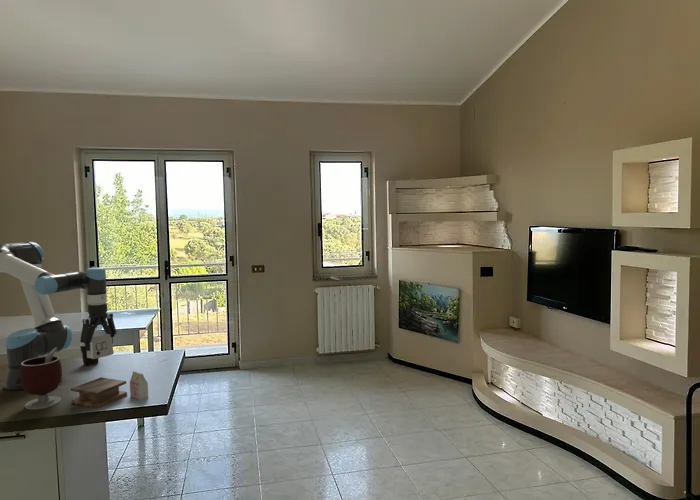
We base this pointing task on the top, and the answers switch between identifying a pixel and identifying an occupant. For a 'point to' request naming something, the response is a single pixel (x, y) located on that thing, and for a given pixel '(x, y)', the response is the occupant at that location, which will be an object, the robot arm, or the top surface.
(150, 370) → the top surface
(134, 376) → the milk carton
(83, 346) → the coffee mug
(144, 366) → the top surface
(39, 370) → the mate gourd
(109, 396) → the walnut stand
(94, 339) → the electrical switch
